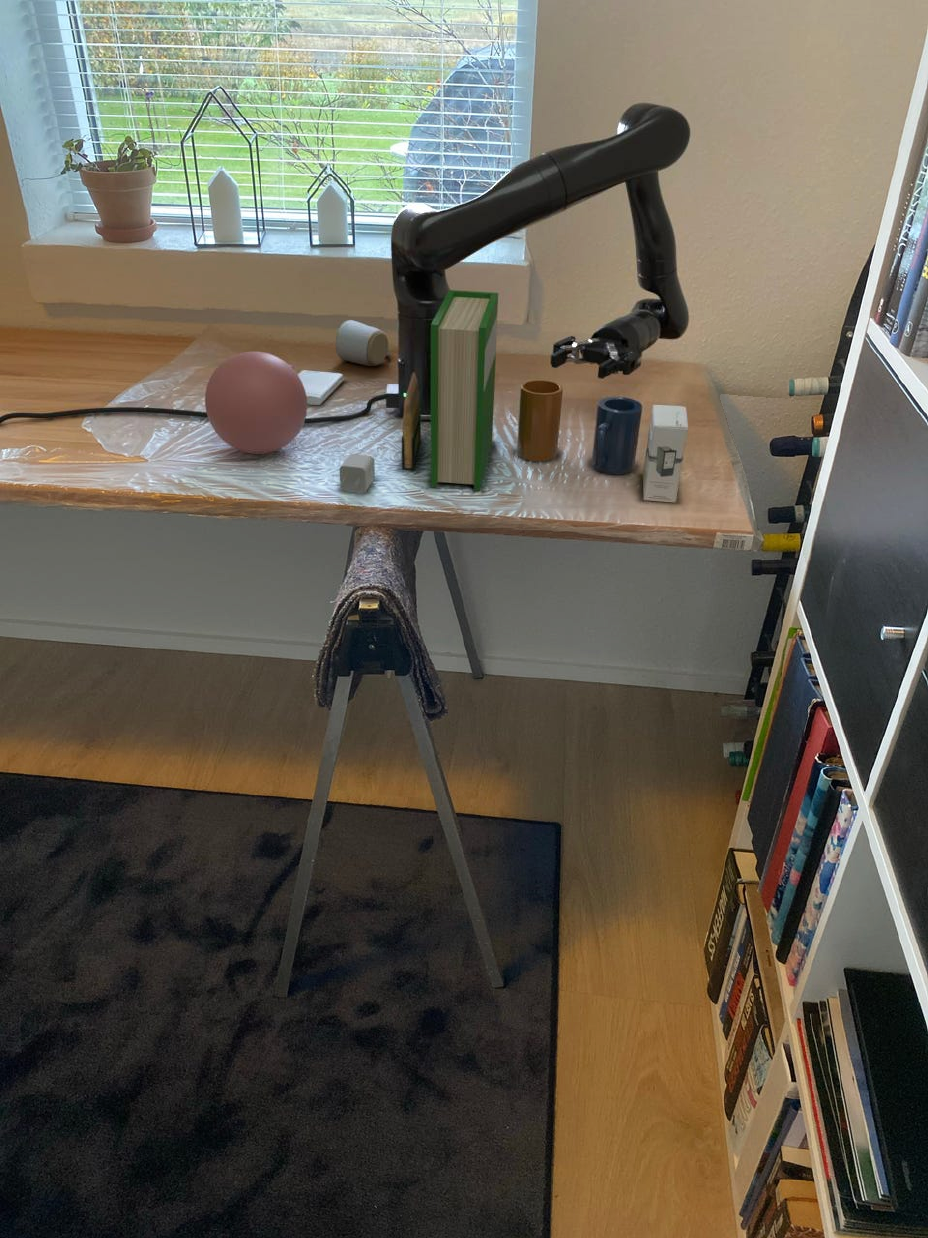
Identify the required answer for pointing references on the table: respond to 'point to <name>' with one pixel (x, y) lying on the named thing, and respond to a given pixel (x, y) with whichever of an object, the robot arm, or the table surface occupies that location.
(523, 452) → the tumbler
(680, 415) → the ink box
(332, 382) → the hard drive
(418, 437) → the ammunition clip
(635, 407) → the mug
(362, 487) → the usb wall charger
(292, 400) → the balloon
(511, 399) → the table surface
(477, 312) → the hardback book
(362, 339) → the ceramic mug
